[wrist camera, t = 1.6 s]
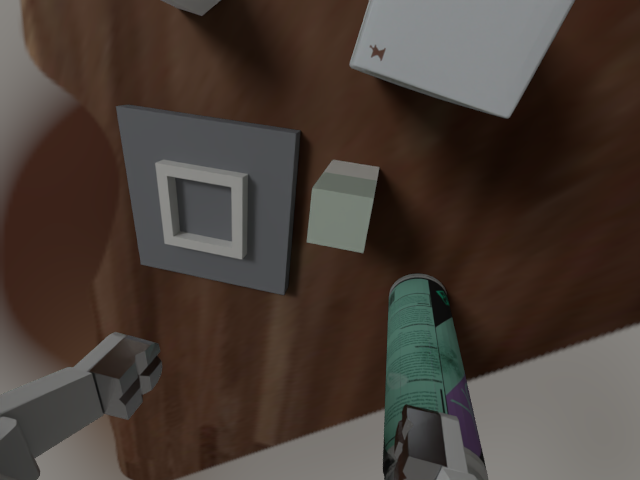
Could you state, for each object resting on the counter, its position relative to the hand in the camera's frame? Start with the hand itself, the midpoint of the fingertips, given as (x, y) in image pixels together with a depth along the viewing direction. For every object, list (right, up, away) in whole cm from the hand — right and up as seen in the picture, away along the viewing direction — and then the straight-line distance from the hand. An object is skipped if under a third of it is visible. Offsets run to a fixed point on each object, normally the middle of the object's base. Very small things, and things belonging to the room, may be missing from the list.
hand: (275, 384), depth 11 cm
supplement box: (+10, +19, +13) cm, 25 cm away
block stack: (+4, +9, +19) cm, 21 cm away
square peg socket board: (-9, +8, +22) cm, 25 cm away
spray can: (+11, -1, +23) cm, 25 cm away
